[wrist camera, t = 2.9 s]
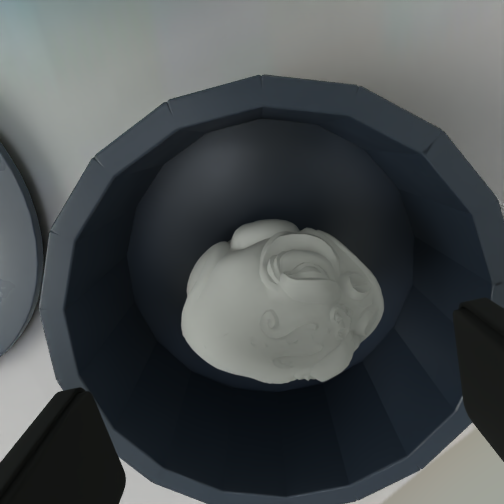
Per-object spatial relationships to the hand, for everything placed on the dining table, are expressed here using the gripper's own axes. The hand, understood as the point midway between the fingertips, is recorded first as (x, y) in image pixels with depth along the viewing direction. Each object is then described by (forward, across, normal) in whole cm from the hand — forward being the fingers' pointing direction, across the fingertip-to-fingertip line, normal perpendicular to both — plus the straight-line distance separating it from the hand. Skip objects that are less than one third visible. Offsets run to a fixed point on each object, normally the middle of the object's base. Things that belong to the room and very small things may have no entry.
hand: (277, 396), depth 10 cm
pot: (+9, 0, 0) cm, 9 cm away
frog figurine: (+9, 0, 0) cm, 9 cm away
